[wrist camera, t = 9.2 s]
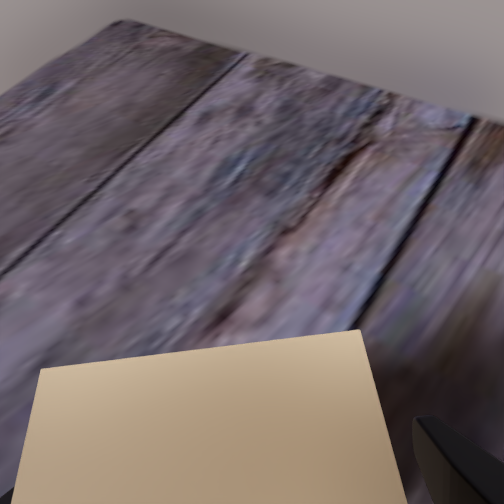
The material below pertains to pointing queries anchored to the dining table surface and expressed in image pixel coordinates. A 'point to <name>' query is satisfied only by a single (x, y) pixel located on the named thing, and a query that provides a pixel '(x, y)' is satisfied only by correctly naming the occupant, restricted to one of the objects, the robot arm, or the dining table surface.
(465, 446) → the robot arm
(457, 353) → the dining table surface
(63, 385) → the maple pillar
